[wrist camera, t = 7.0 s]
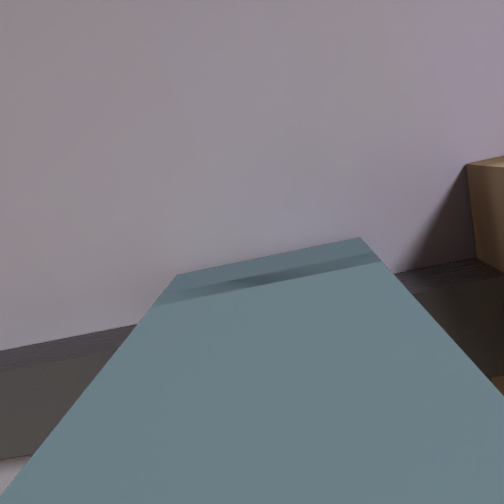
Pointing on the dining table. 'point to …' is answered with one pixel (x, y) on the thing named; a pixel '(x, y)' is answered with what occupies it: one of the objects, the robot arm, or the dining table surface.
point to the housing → (488, 217)
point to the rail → (107, 342)
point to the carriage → (279, 397)
